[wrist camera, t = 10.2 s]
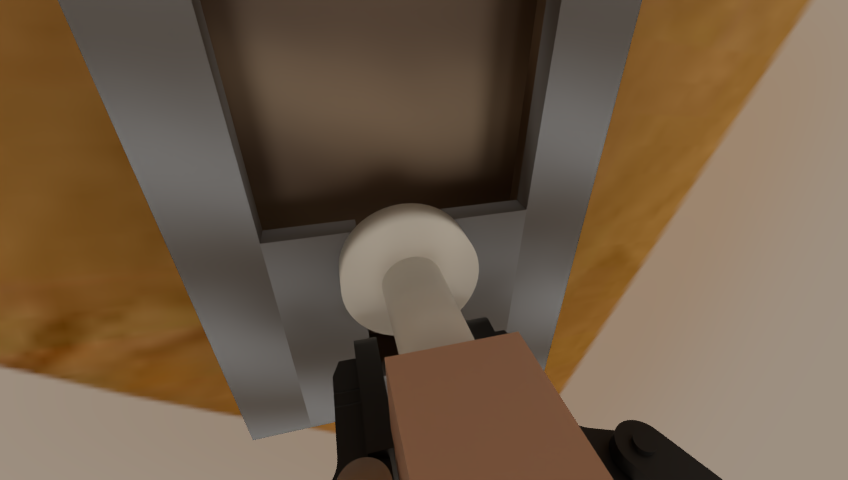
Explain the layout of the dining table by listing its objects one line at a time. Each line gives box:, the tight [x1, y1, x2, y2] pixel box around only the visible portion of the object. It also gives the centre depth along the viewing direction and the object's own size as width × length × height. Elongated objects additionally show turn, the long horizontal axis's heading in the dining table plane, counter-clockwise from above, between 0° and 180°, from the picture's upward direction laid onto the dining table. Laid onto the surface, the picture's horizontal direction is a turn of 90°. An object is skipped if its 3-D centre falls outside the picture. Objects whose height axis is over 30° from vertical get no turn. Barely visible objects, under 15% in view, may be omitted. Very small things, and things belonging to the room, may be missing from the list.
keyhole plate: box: [58, 0, 642, 440], centre depth 15 cm, size 20×14×5 cm
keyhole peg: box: [339, 203, 613, 480], centre depth 9 cm, size 5×5×12 cm
